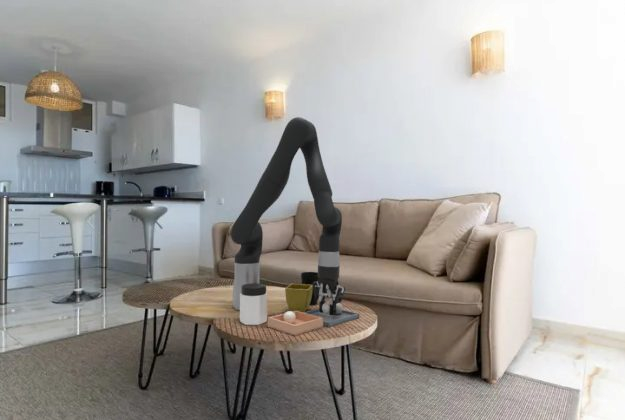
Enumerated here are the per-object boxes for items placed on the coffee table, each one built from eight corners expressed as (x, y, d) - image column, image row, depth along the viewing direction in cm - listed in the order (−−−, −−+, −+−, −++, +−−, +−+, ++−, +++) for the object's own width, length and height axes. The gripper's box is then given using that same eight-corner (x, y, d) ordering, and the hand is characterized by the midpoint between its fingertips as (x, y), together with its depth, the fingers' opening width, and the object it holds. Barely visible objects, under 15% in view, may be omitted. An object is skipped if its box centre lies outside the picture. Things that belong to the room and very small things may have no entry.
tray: (296, 318, 136) (296, 313, 136) (328, 310, 148) (328, 306, 148) (327, 327, 126) (328, 322, 126) (359, 317, 138) (359, 313, 138)
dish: (267, 326, 126) (268, 317, 126) (296, 319, 135) (296, 310, 135) (294, 336, 117) (294, 325, 117) (323, 327, 126) (323, 318, 126)
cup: (319, 306, 154) (320, 275, 154) (300, 305, 154) (300, 274, 154) (319, 301, 161) (320, 272, 161) (301, 301, 162) (301, 271, 162)
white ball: (281, 324, 128) (280, 311, 128) (290, 322, 130) (289, 310, 131) (289, 324, 125) (288, 311, 125) (298, 323, 128) (298, 310, 128)
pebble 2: (329, 313, 140) (329, 302, 140) (336, 312, 143) (336, 300, 143) (337, 316, 138) (338, 304, 138) (345, 314, 140) (345, 302, 140)
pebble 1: (319, 313, 137) (319, 301, 137) (326, 311, 140) (327, 300, 140) (327, 316, 134) (328, 304, 134) (335, 314, 137) (336, 302, 137)
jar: (270, 323, 130) (271, 286, 130) (247, 327, 125) (247, 289, 125) (259, 316, 137) (259, 282, 137) (236, 320, 133) (237, 284, 133)
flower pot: (308, 314, 141) (308, 289, 141) (284, 313, 143) (284, 288, 143) (313, 308, 150) (313, 284, 150) (290, 307, 152) (290, 283, 151)
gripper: (306, 262, 139) (305, 311, 139) (337, 267, 129) (336, 320, 129) (321, 260, 145) (319, 307, 145) (351, 265, 135) (350, 316, 135)
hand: (327, 313), depth 137 cm, fingers closed on pebble 1, 4 cm apart
